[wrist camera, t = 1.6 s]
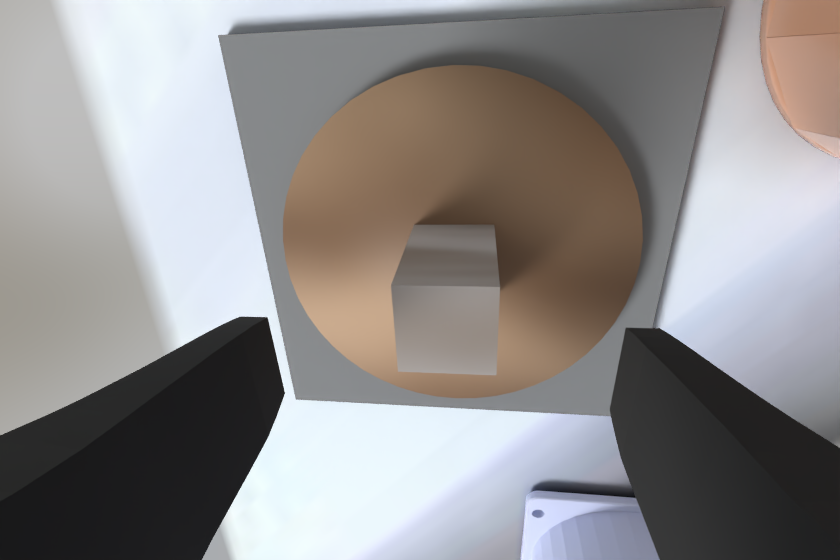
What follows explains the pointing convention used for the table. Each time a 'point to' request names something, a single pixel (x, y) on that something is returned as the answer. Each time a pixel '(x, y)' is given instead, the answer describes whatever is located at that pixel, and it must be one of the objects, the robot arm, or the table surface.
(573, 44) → the mat
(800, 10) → the bowl
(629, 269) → the lid
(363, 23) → the table surface
